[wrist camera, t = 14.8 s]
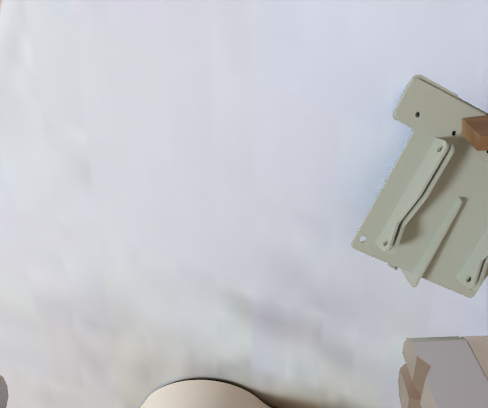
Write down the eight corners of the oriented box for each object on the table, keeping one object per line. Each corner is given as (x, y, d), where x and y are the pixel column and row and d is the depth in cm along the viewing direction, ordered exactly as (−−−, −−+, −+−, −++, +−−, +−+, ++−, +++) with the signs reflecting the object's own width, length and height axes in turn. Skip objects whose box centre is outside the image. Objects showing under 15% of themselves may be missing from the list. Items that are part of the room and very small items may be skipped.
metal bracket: (500, 329, 34) (327, 257, 31) (458, 291, 39) (308, 227, 36) (618, 156, 31) (437, 57, 28) (554, 142, 36) (398, 58, 33)
